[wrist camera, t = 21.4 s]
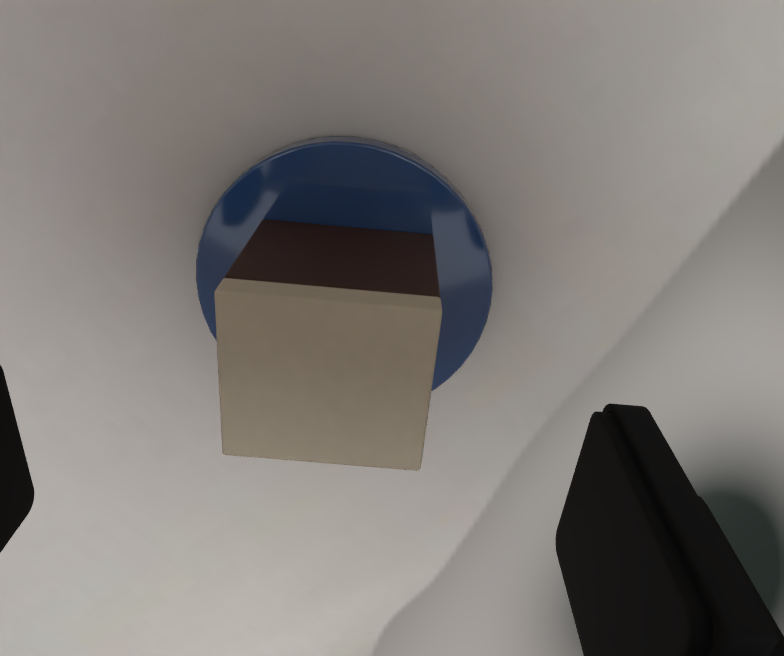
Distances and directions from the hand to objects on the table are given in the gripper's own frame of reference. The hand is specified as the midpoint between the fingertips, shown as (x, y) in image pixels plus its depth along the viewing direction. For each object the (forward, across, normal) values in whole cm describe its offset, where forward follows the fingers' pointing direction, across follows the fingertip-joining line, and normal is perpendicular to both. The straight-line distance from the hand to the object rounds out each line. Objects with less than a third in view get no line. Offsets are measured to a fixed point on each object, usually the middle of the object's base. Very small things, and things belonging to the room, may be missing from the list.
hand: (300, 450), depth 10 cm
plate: (+8, 0, +1) cm, 8 cm away
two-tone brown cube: (+7, 0, +1) cm, 7 cm away
